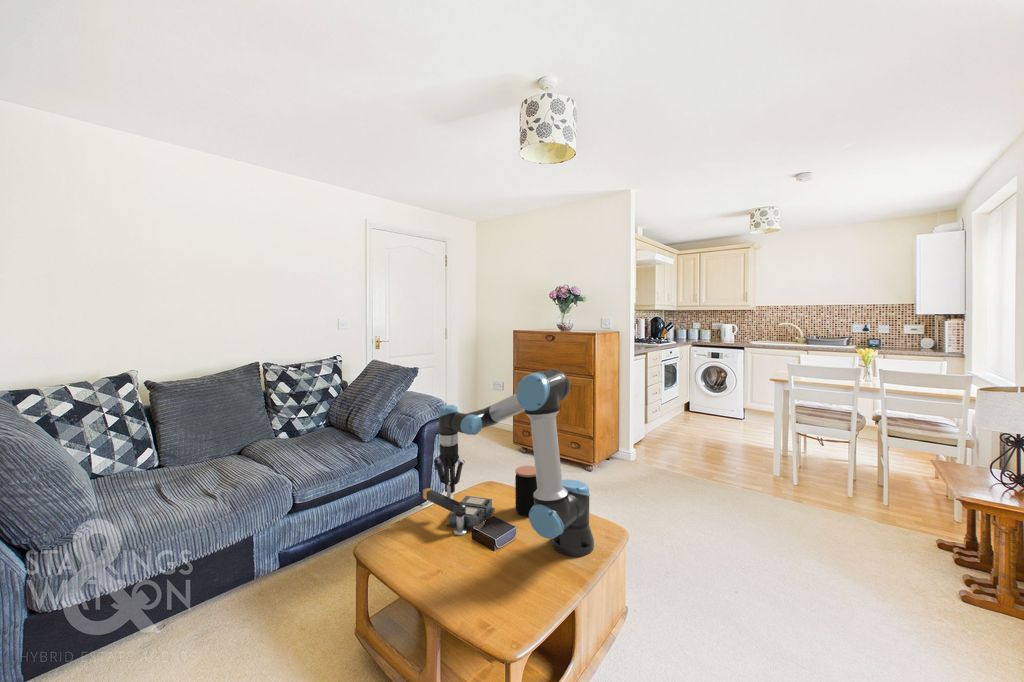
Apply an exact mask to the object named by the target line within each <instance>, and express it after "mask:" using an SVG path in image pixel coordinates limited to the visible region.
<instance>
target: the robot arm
mask: <svg viewBox="0 0 1024 682" xmlns="http://www.w3.org/2000/svg"><path fill="white" fill-rule="evenodd" d="M570 391H571V382H570V379H569V377H568V376H567V374H566V373H565V372H563V371H561V370H558V369H548V370H543V371H538V372H533V373H529V374H527V375H525V376H524V377H522V378H521V379H520V381H519V382H518V384H517V387H516V391H515V393H514V394H512V395H510V396H508V397H505V398H504V399H502V400H500V401H498V402H495V403H493V404H491V405H489V406H487V407H484V408H481V409H478V410H475V411H474V410H473V411H470V412H468V413H464V412H463V413H462V412H459V410H458V406H456V405H454V404H453V405H452V404H446V405H445V404H444V405H441V406H440V407H439V408H438V431H439V432H438V433H439V434H438V437H439V439H438V441H439V455H438V457H437V458H435V459H434V460H433V462H434V464H435V466H436V470H437V474H438V477H439V478H438V479H439V481H440V482H439V483H440V484H444V492H445V493H446V496H447V497H449V498H451V499H453V500H454V493H455V490H456V485H457V484H458V483H459V482H460V479H461V476H462V475H461V474H462V470H463V466H464V464H465V463H466V462H465V460H462V459H461V458H460V455H459V433H461V434H465V435H468V436H475V435H476V436H477V435H478V434H479V433H480V432H481V430H482V429H484V428H488V427H492V426H494V425H496V424H498V423H500V422H503V421H504V420H506V419H509V418H511V417H514V416H516V415H518V414H521V413H523V412H524V414H525V416H527V418H529V422H530V430H531V438H532V449H533V451H532V452H533V459H534V466H535V470H536V480H537V490H536V491H535V492H534V506H532V508H531V510H530V512H529V517H528V520H529V524H530V526H531V528H532V529H533V530H534V531H535V532H536V534H537V535H539V536H540V537H542V538H544V539H548V540H549V539H550V540H551V542H552V543H551V545H552V547H553V549H555V551H557V552H558V553H560V554H562V555H566V556H569V557H581V556H587V555H588V554H590V553H592V552H593V550H594V548H595V538H594V535H593V532H592V530H591V526H590V488H589V485H588V484H586V483H585V482H583V481H580V480H577V479H563V478H562V477H563V475H562V467H561V457H560V456H561V455H560V447H559V438H558V429H557V426H558V425H557V415H558V414H559V413H560V402H561V401H563V400H565V399H566V398H567V396H568V395H569V394H570ZM456 465H457V467H456Z"/></svg>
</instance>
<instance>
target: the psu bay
mask: <svg viewBox="0 0 1024 682" xmlns="http://www.w3.org/2000/svg"><path fill="white" fill-rule="evenodd" d="M460 502H464V503H465V504H466V514H465V515H464V527H465V528H466V529H467V531H473V530H472V528H473V527H474V526H477V525H479V524H481V523H482V522H483V521H485V520H487V519H488V518H489V517H490V518H491V516H492V515H493V514H494V512H495V510H496V508H495V507H493V499H492V498H485V497H480V496H479V497H478V496H472V495H471V496H470V495H466V496H464V498H463V499H462V500H461V501H460ZM490 518H489V519H490ZM489 519H488V520H489ZM446 527H447V528H453V529H455V528H457V518H456V515H454V513H453V512H451V511H450V513H449V520H448V522H447V523H446Z"/></svg>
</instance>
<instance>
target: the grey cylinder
mask: <svg viewBox="0 0 1024 682" xmlns="http://www.w3.org/2000/svg"><path fill="white" fill-rule="evenodd" d="M456 518H457V528H453V529H454V530H453V535H455V536H458V537H460V536H464V535H466V534H467V533H468V530H467V529H466V528H465V527H464V515H463V516H456Z"/></svg>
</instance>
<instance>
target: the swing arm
mask: <svg viewBox="0 0 1024 682" xmlns="http://www.w3.org/2000/svg"><path fill="white" fill-rule="evenodd" d="M422 494H423V495H422V497H423V499H424V500H426V501H429V502H430V503H433V504H435V505H437V506H439V507H441V508H444V509H445V510H448V511H450V513H451V512H453V513H454V515H456V516H463V515H465V514H466V504H465V503H464V502H461V501H458V500H455V499H454V498H453V499H451V498H449V497H447V495H444V494H443V493H439V492H438V491H436V490H433V489H432V488H429V487H428V488H424V489H423V490H422Z"/></svg>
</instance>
